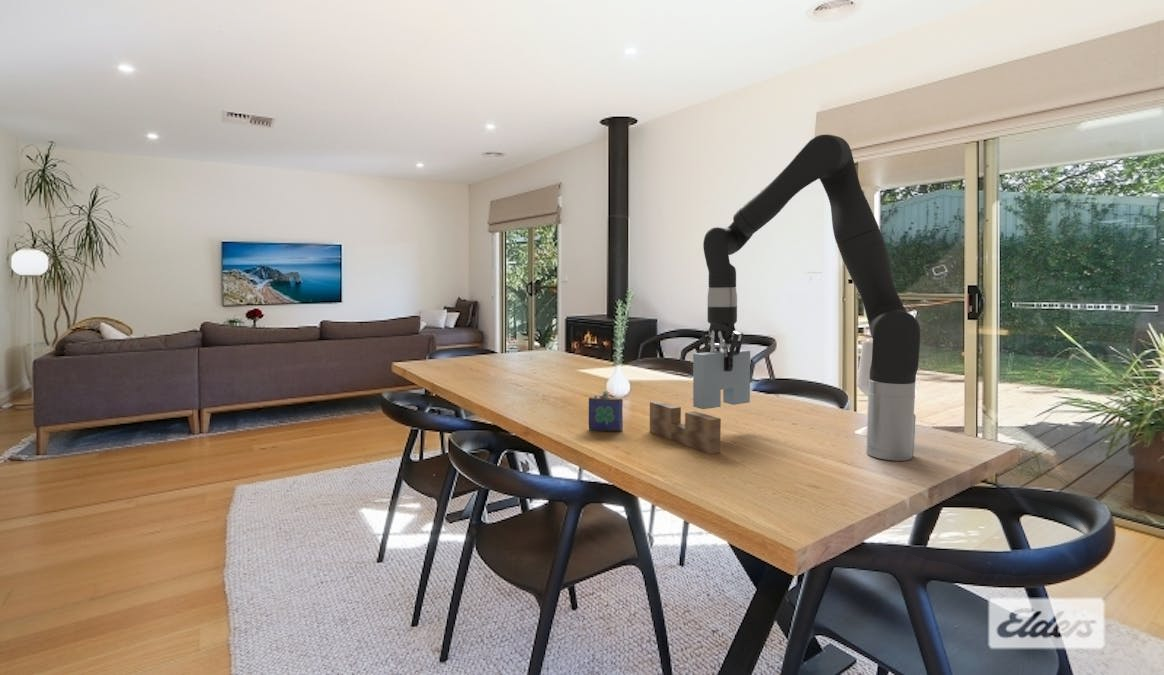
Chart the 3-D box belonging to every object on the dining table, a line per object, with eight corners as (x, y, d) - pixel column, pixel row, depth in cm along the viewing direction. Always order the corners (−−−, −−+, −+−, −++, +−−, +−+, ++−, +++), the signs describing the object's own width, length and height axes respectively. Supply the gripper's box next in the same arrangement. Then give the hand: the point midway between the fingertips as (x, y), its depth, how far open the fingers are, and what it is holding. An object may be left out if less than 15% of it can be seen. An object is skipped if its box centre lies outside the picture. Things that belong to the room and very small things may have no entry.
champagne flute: (872, 429, 159) (876, 340, 157) (889, 436, 153) (893, 343, 150) (849, 430, 158) (852, 340, 156) (864, 437, 152) (868, 343, 150)
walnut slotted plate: (649, 431, 158) (649, 402, 158) (658, 430, 160) (659, 400, 159) (710, 454, 137) (710, 420, 137) (720, 452, 139) (720, 418, 138)
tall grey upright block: (693, 406, 156) (693, 353, 155) (739, 400, 163) (739, 349, 162) (703, 409, 152) (703, 354, 151) (749, 402, 160) (750, 350, 159)
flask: (623, 430, 161) (623, 390, 160) (622, 432, 158) (621, 392, 157) (589, 428, 162) (589, 389, 161) (587, 431, 159) (587, 391, 158)
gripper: (752, 305, 151) (752, 372, 153) (714, 304, 164) (714, 366, 165) (730, 306, 147) (730, 374, 149) (693, 304, 160) (693, 368, 161)
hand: (721, 369), depth 157 cm, fingers closed on tall grey upright block, 4 cm apart
